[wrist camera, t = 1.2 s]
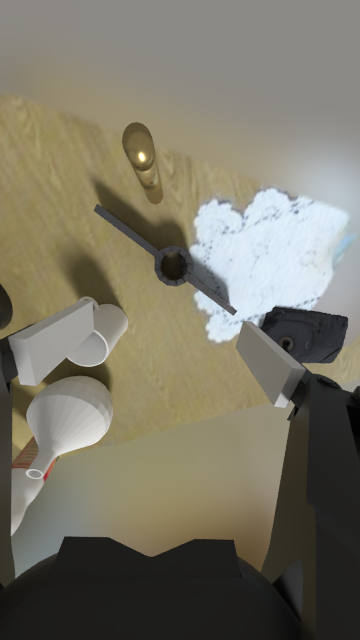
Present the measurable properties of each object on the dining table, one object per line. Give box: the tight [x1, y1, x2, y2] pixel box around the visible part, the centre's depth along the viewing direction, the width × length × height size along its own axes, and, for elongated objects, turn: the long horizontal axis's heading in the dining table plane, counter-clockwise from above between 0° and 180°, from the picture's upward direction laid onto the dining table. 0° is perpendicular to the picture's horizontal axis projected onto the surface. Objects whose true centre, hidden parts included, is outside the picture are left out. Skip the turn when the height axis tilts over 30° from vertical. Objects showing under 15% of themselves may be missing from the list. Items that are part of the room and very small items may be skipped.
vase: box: [26, 376, 113, 479], centre depth 38 cm, size 18×18×19 cm
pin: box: [122, 122, 163, 204], centre depth 23 cm, size 3×3×15 cm
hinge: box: [94, 204, 237, 315], centre depth 33 cm, size 31×7×5 cm, turn 54°
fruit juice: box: [11, 436, 60, 536], centre depth 40 cm, size 9×9×28 cm
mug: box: [67, 296, 128, 367], centre depth 33 cm, size 12×8×12 cm
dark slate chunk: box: [261, 307, 348, 363], centre depth 41 cm, size 15×22×5 cm
